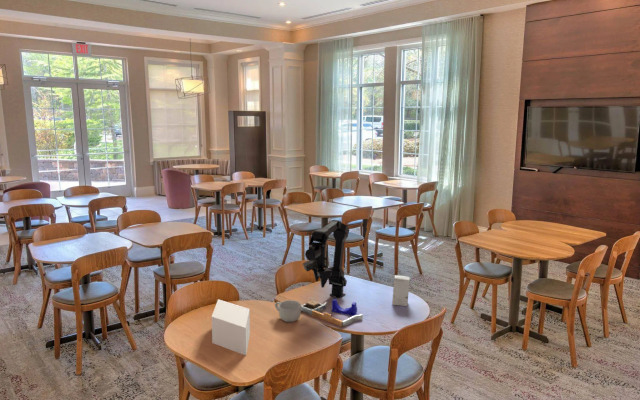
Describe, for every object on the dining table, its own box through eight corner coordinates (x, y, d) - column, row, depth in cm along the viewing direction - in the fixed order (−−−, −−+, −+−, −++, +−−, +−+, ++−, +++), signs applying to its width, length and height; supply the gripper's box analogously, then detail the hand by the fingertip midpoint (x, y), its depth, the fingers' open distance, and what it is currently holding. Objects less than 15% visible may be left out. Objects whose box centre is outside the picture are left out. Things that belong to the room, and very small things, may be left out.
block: (236, 320, 232) (235, 296, 230) (265, 351, 203) (265, 323, 200) (200, 327, 224) (199, 302, 222) (225, 361, 194) (225, 332, 192)
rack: (317, 303, 254) (317, 296, 254) (362, 319, 235) (363, 311, 234) (299, 310, 244) (299, 303, 244) (345, 328, 225) (345, 320, 224)
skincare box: (392, 305, 254) (393, 278, 251) (392, 300, 259) (394, 274, 257) (408, 306, 252) (409, 279, 249) (408, 302, 258) (409, 275, 255)
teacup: (305, 319, 234) (305, 304, 232) (289, 326, 226) (289, 310, 225) (285, 311, 243) (285, 296, 242) (269, 317, 235) (269, 302, 234)
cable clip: (357, 312, 244) (357, 301, 243) (354, 315, 239) (354, 304, 238) (334, 308, 248) (335, 297, 247) (331, 312, 244) (332, 300, 243)
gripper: (299, 251, 248) (299, 279, 251) (310, 262, 230) (310, 292, 233) (319, 249, 251) (319, 277, 254) (331, 260, 234) (331, 290, 237)
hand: (319, 284), depth 245 cm, fingers open, 9 cm apart
